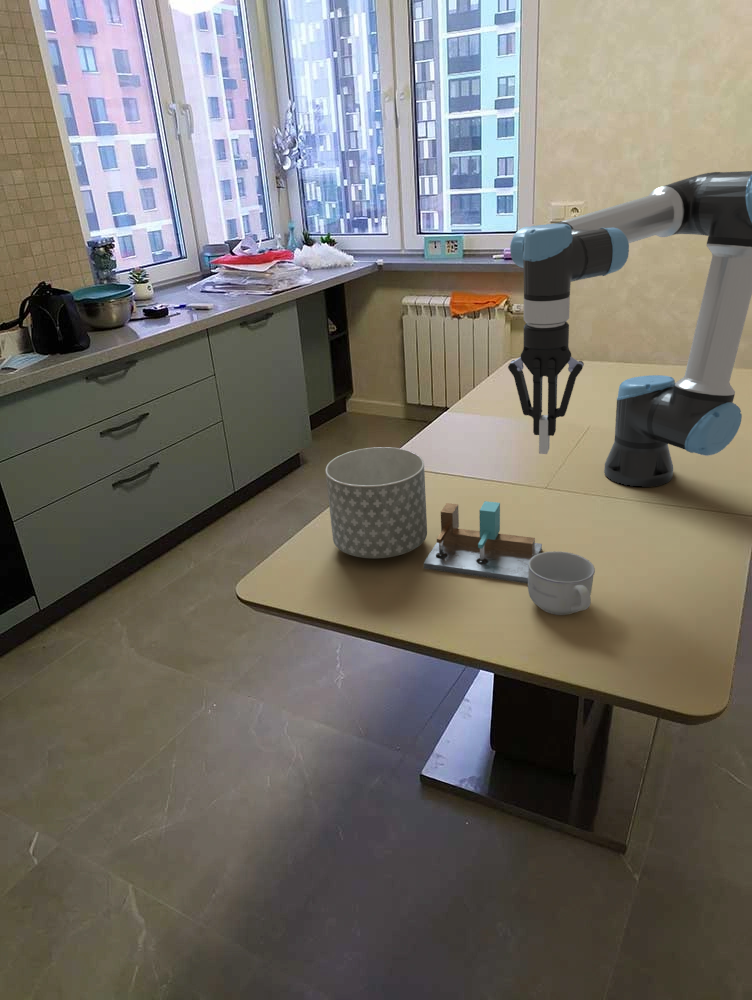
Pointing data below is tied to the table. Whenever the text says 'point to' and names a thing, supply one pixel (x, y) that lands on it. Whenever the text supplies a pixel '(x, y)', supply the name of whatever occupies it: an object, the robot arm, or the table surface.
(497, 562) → the gauge board
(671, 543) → the table surface
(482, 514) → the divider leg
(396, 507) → the planter
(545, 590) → the teacup
